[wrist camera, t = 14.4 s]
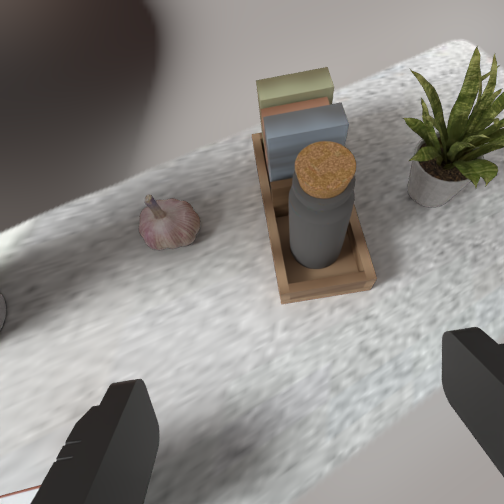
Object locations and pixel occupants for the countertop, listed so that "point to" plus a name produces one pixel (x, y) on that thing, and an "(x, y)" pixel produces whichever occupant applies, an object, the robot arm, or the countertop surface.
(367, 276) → the rack
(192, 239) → the garlic bulb
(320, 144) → the bottle
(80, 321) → the countertop surface
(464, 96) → the house plant
